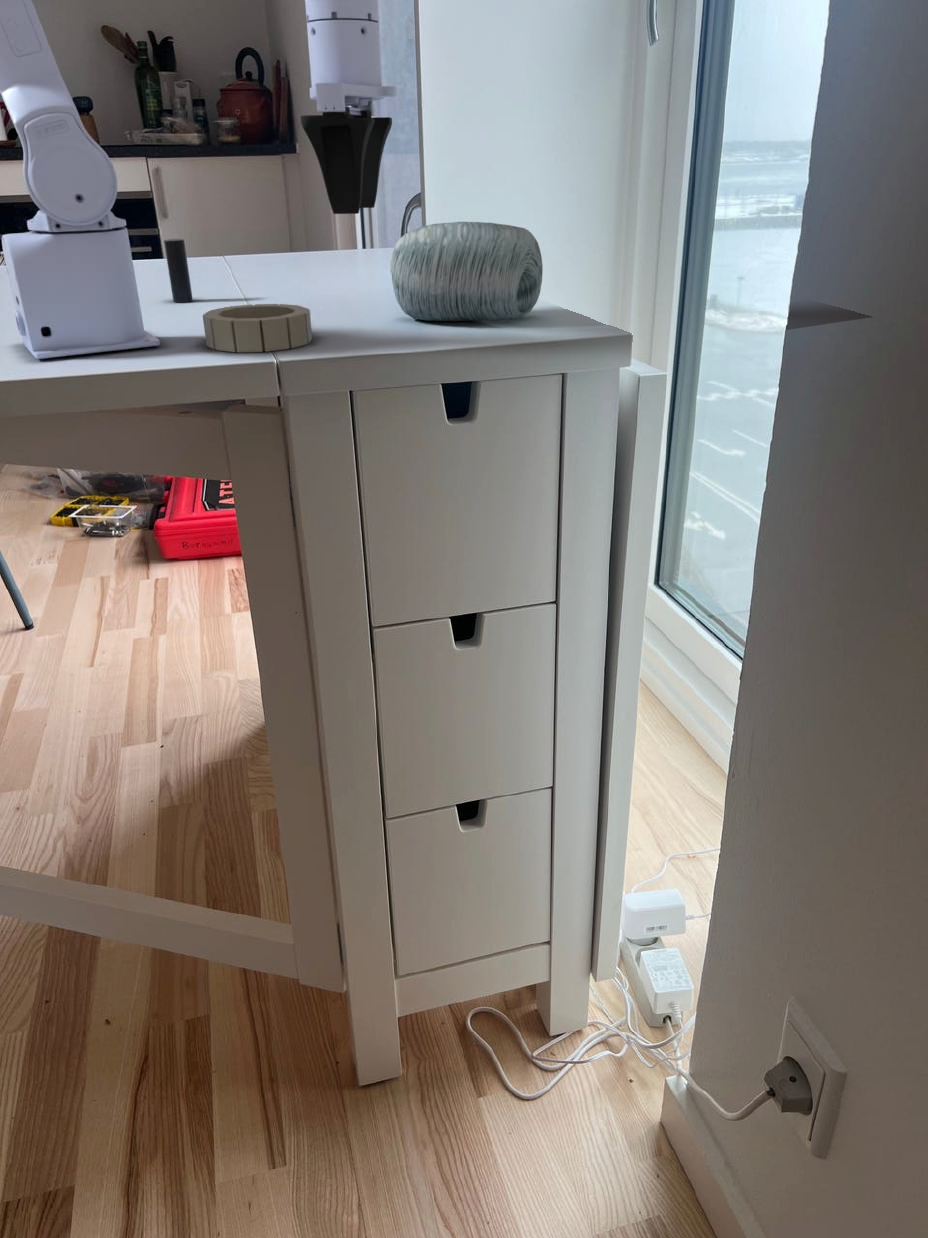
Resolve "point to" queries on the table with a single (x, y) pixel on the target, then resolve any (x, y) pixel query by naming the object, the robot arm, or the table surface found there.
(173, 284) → the post
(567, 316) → the table surface
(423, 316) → the spool
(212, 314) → the tape roll
